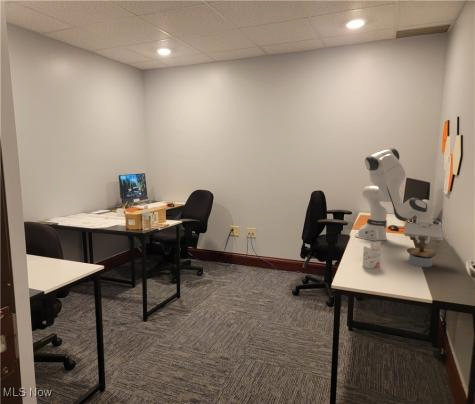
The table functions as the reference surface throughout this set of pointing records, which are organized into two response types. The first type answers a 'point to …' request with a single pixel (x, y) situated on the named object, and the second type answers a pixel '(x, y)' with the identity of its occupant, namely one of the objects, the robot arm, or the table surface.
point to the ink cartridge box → (372, 255)
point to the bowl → (420, 260)
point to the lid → (421, 250)
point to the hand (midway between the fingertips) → (422, 243)
